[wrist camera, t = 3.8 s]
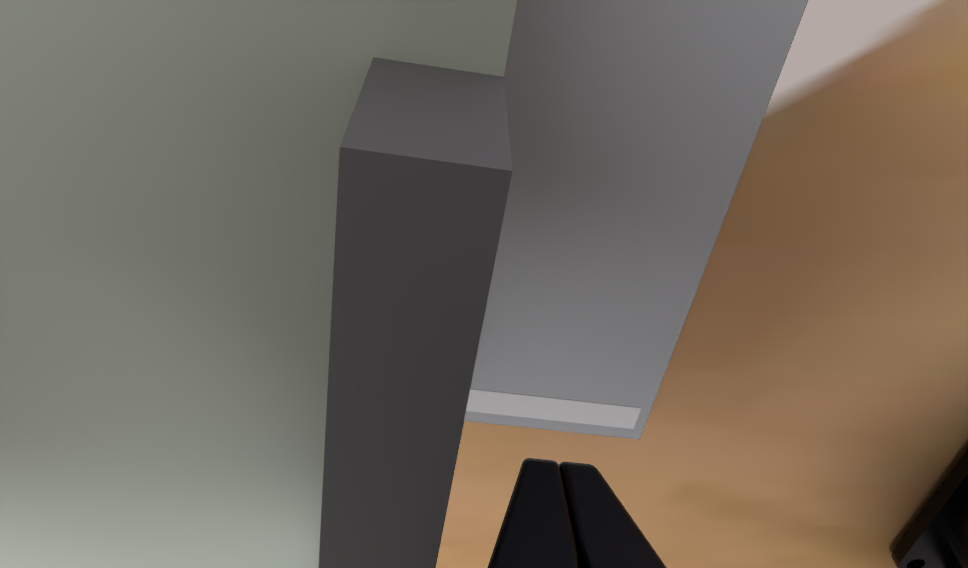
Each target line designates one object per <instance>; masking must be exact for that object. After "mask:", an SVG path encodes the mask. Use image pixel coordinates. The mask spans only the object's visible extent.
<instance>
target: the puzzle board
mask: <svg viewBox="0 0 968 568" xmlns="http://www.w3.org/2000/svg"><path fill="white" fill-rule="evenodd" d="M807 2H808V0H517V3H516V9H515V15H514V21H513V27H512V32H511V38H510V44H509V50H508V55H507V61H506V67H505V73H504V85H505V96H506V106H507V117H508V128H509V139H510V149H511V160H512V176H511V181H510V186H509V192H508V197H507V202H506V207H505V212H504V217H503V222H502V228H501V233H500V238H499V243H498V248H497V253H496V258H495V264H494V269H493V274H492V279H491V284H490V289H489V295H488V300H487V305H486V310H485V315H484V320H483V325H482V331H481V336H480V341H479V346H478V351H477V356H476V361H475V367H474V372H473V377H472V382H471V387H470V392H469V397H468V403H467V408H466V413H465V418H464V421H470V422H479V423H489V424H498V425H507V426H517V427H526V428H536V429H545V430H554V431H564V432H573V433H582V434H592V435H601V436H610V437H620V438H629V439H640V437H641V434H642V431H643V429H644V426H645V424H646V421H647V418H648V416H649V413H650V411H651V408H652V405H653V403H654V400H655V398H656V395H657V392H658V390H659V387H660V385H661V382H662V379H663V377H664V374H665V372H666V369H667V366H668V364H669V361H670V359H671V356H672V353H673V351H674V348H675V346H676V343H677V340H678V338H679V335H680V333H681V330H682V327H683V325H684V322H685V320H686V317H687V314H688V312H689V309H690V307H691V304H692V301H693V299H694V296H695V294H696V291H697V288H698V286H699V283H700V281H701V278H702V275H703V273H704V270H705V268H706V265H707V262H708V260H709V257H710V255H711V252H712V249H713V247H714V244H715V242H716V239H717V236H718V234H719V231H720V229H721V226H722V223H723V221H724V218H725V216H726V213H727V210H728V208H729V205H730V203H731V200H732V197H733V195H734V192H735V190H736V187H737V184H738V182H739V179H740V177H741V174H742V171H743V169H744V166H745V164H746V161H747V158H748V156H749V153H750V151H751V148H752V145H753V143H754V140H755V138H756V135H757V132H758V130H759V127H760V125H761V122H762V119H763V117H764V114H765V112H766V109H767V106H768V104H769V101H770V99H771V96H772V93H773V91H774V88H775V86H776V83H777V80H778V78H779V75H780V72H781V70H782V67H783V65H784V62H785V60H786V57H787V54H788V52H789V49H790V47H791V44H792V41H793V39H794V36H795V33H796V31H797V28H798V26H799V23H800V21H801V17H802V15H803V13H804V10H805V8H806V5H807Z"/></svg>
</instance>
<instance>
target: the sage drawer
mask: <svg viewBox="0 0 968 568" xmlns="http://www.w3.org/2000/svg"><path fill="white" fill-rule="evenodd" d="M516 3H517V0H0V568H435V567H436V562H437V557H438V552H439V547H440V542H441V536H442V531H443V526H444V521H445V516H446V511H447V506H448V500H449V495H450V490H451V485H452V480H453V475H454V470H455V464H456V459H457V454H458V449H459V444H460V439H461V434H462V428H463V423H464V418H465V413H466V408H467V403H468V397H469V392H470V387H471V382H472V377H473V372H474V367H475V361H476V356H477V351H478V346H479V341H480V336H481V331H482V325H483V320H484V315H485V310H486V305H487V300H488V295H489V289H490V284H491V279H492V274H493V269H494V264H495V258H496V253H497V248H498V243H499V238H500V233H501V228H502V222H503V217H504V212H505V207H506V202H507V197H508V192H509V186H510V181H511V176H512V160H511V149H510V139H509V128H508V117H507V106H506V96H505V85H504V73H505V67H506V61H507V55H508V50H509V44H510V38H511V32H512V27H513V21H514V15H515V9H516Z"/></svg>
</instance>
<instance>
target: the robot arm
mask: <svg viewBox="0 0 968 568" xmlns="http://www.w3.org/2000/svg"><path fill="white" fill-rule="evenodd" d="M891 556H892V559H893V561H894V563H895V565H896V567H897V568H968V451H967V452H966V454H965V455H964V456H963V458H962V459H961V460H960V462H959V463H958V464H957V466H956V467H955V468H954V470H953V471H952V472H951V474H950V475H949V477H948V478H947V479H946V481H945V482H944V483H943V485H942V486H941V487H940V489H939V490H938V491H937V493H936V494H935V495H934V497H933V498H932V499H931V501H930V502H929V503H928V505H927V506H926V507H925V509H924V510H923V512H922V513H921V514H920V516H919V517H918V518H917V520H916V521H915V522H914V524H913V525H912V526H911V528H910V529H909V530H908V532H907V533H906V534H905V536H904V537H903V538H902V540H901V541H900V543H899V544H898V545H897V547H896V548H895V549H894V551H893V553H892V555H891ZM488 568H666V566H665V565H664V563H663V562H662V560H661V559H660V558H659V556H658V555H657V553H656V552H655V550H654V549H653V548H652V546H651V545H650V543H649V542H648V541H647V539H646V538H645V536H644V535H643V533H642V532H641V531H640V529H639V528H638V526H637V525H636V523H635V522H634V521H633V519H632V518H631V516H630V515H629V513H628V512H627V511H626V509H625V508H624V506H623V505H622V503H621V502H620V501H619V499H618V498H617V496H616V495H615V493H614V492H613V491H612V489H611V488H610V486H609V485H608V484H607V482H606V481H605V479H604V478H603V476H602V475H601V474H600V472H599V471H598V470H597V468H595V467H594V466H592V465H590V464H581V463H572V462H562V463H560V464H559V465H558V463H556V462H555V461H552V460H542V459H532V458H527V459H525V460H524V461H523V463H522V466H521V469H520V472H519V475H518V478H517V481H516V484H515V487H514V490H513V493H512V496H511V499H510V502H509V505H508V508H507V511H506V514H505V517H504V520H503V523H502V526H501V529H500V532H499V535H498V538H497V541H496V544H495V547H494V550H493V553H492V556H491V559H490V562H489V565H488Z"/></svg>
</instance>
